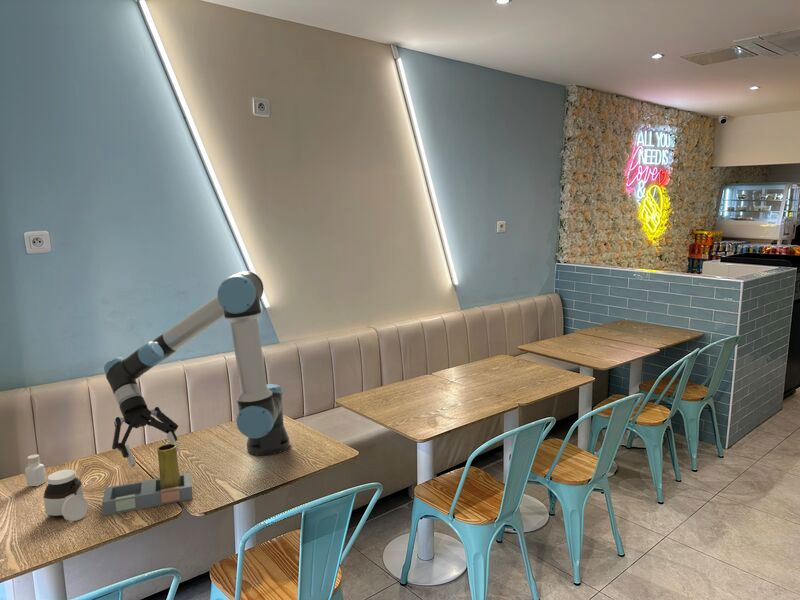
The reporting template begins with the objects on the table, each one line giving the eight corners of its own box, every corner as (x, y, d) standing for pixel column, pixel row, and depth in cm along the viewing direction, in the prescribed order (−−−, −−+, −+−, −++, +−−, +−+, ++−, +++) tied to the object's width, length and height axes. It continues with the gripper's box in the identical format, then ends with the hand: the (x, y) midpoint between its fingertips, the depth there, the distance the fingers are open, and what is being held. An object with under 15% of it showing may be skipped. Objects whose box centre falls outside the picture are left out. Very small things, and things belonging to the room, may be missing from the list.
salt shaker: (37, 487, 184) (33, 459, 183) (26, 487, 185) (22, 458, 183) (47, 482, 188) (43, 454, 186) (36, 481, 189) (33, 453, 187)
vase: (156, 492, 176) (152, 447, 174) (175, 485, 181) (171, 441, 179) (166, 498, 172) (161, 452, 170) (185, 491, 177) (181, 446, 175)
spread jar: (63, 504, 173) (58, 467, 171) (100, 503, 173) (96, 466, 171) (37, 525, 161) (32, 486, 160) (77, 525, 161) (72, 485, 159)
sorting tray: (191, 484, 183) (190, 471, 183) (192, 499, 174) (191, 486, 173) (106, 500, 175) (105, 486, 174) (103, 516, 165) (101, 502, 164)
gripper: (165, 398, 200) (190, 451, 192) (87, 417, 182) (111, 477, 174) (171, 386, 195) (196, 439, 188) (92, 405, 177) (116, 465, 170)
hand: (155, 458), depth 181 cm, fingers open, 13 cm apart
